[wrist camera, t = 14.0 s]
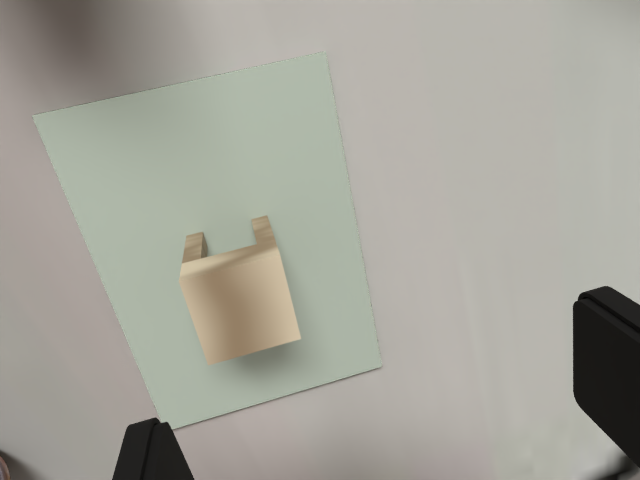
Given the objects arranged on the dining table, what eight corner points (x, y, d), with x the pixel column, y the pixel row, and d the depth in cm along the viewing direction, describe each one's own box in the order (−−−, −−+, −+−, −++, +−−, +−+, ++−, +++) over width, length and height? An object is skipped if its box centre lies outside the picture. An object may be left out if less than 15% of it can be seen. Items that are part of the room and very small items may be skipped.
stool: (267, 215, 29) (280, 254, 23) (285, 285, 31) (301, 339, 25) (186, 235, 29) (178, 281, 23) (209, 306, 31) (208, 365, 25)
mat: (323, 51, 27) (325, 51, 27) (379, 361, 36) (382, 366, 35) (35, 114, 25) (31, 115, 25) (166, 425, 34) (165, 431, 33)
